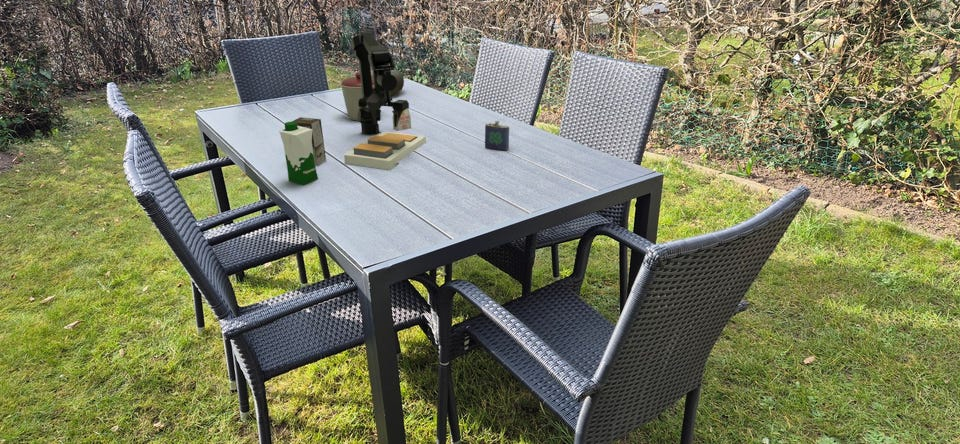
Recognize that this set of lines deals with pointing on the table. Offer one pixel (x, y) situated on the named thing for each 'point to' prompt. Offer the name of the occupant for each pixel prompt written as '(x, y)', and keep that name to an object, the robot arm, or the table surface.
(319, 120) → the coffee box
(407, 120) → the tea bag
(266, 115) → the table surface
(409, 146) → the cream board with panels
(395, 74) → the gourd
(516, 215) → the table surface
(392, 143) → the orange drawer
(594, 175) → the table surface
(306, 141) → the milk carton
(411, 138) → the orange cabinet drawer
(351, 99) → the canister
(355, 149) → the switch
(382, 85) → the robot arm
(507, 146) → the flask
